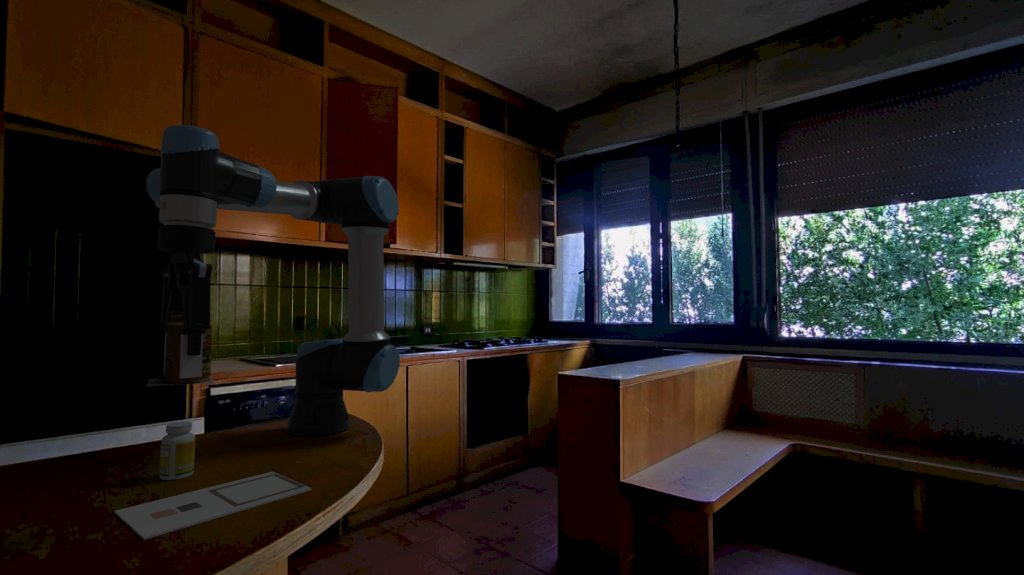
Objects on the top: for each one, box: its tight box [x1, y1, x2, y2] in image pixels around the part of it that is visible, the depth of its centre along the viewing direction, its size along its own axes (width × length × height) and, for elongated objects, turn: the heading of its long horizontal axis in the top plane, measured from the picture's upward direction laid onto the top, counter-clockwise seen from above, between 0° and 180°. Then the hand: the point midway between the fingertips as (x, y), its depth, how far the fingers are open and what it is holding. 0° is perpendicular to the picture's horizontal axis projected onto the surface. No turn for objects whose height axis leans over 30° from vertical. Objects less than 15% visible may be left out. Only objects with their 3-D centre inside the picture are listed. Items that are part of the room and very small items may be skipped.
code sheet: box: [114, 471, 313, 541], centre depth 80 cm, size 24×14×1 cm, turn 142°
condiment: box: [145, 305, 215, 387], centre depth 77 cm, size 7×8×12 cm
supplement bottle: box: [158, 421, 196, 481], centre depth 92 cm, size 5×5×10 cm
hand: (182, 375), depth 76 cm, fingers closed on condiment, 6 cm apart
